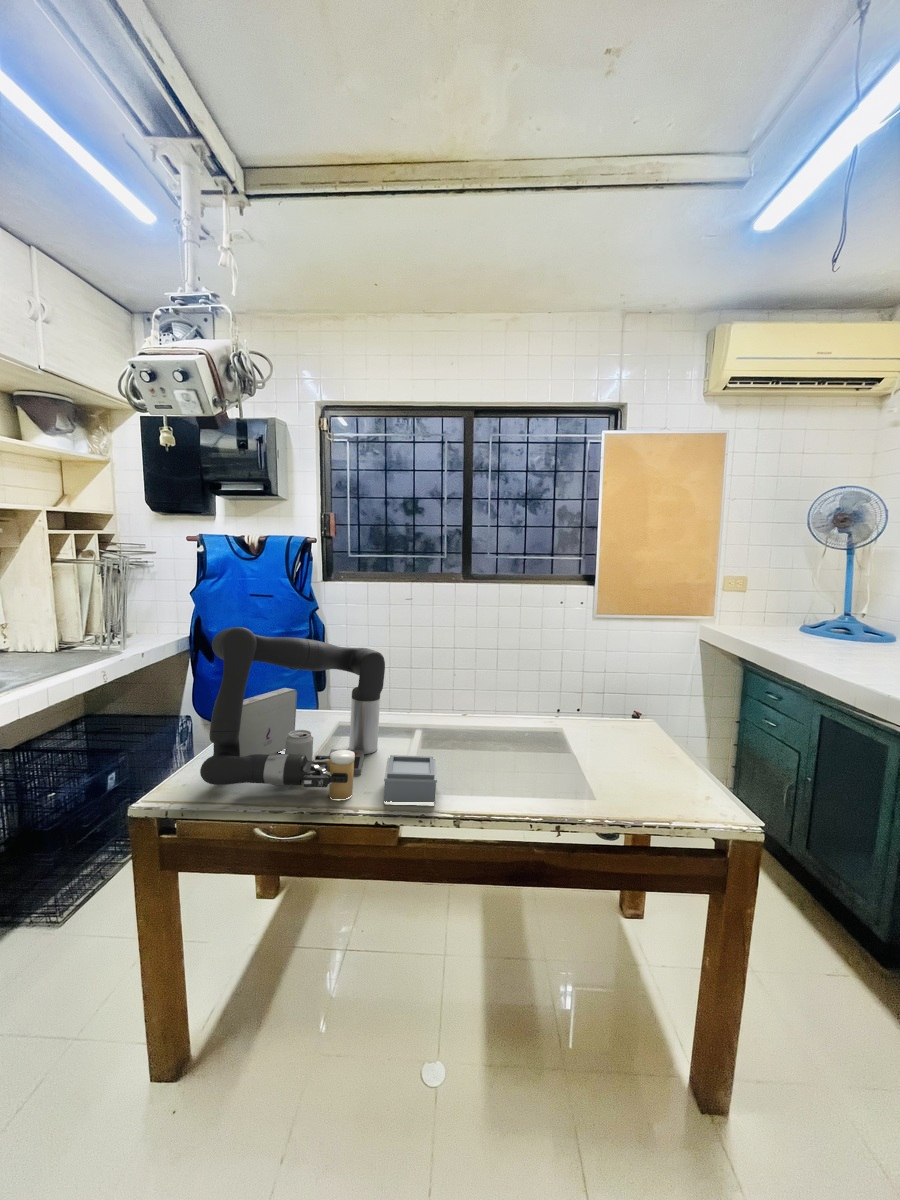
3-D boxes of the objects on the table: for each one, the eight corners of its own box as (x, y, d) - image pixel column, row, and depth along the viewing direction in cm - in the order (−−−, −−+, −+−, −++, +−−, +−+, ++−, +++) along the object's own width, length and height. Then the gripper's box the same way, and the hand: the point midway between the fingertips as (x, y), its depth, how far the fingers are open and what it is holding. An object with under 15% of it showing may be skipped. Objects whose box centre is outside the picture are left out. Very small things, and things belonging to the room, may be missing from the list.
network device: (240, 781, 125) (244, 707, 124) (214, 775, 127) (218, 703, 127) (299, 751, 149) (303, 689, 148) (277, 746, 152) (280, 685, 151)
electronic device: (364, 749, 149) (361, 768, 134) (364, 756, 149) (360, 777, 134) (331, 748, 148) (323, 768, 133) (330, 756, 148) (323, 776, 133)
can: (303, 781, 128) (305, 738, 127) (278, 777, 130) (280, 735, 129) (316, 770, 135) (318, 730, 135) (293, 767, 137) (294, 727, 136)
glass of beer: (330, 789, 124) (332, 749, 124) (354, 790, 125) (356, 750, 124) (326, 801, 118) (328, 758, 118) (350, 801, 119) (352, 759, 118)
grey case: (386, 781, 131) (388, 754, 130) (433, 783, 132) (435, 755, 131) (382, 805, 118) (384, 774, 117) (435, 807, 118) (437, 776, 118)
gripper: (278, 766, 113) (346, 769, 114) (293, 745, 127) (354, 747, 128) (276, 797, 113) (345, 798, 114) (292, 771, 128) (353, 773, 129)
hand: (350, 771), depth 121 cm, fingers open, 7 cm apart
